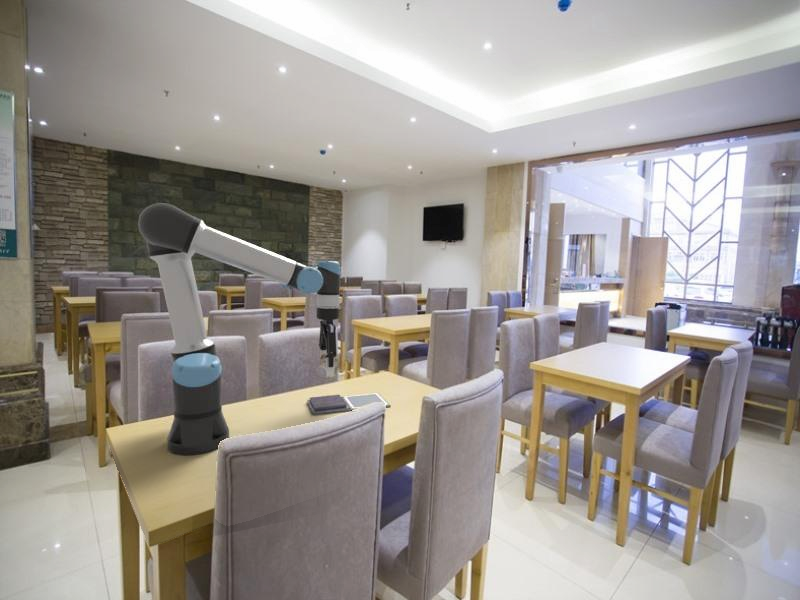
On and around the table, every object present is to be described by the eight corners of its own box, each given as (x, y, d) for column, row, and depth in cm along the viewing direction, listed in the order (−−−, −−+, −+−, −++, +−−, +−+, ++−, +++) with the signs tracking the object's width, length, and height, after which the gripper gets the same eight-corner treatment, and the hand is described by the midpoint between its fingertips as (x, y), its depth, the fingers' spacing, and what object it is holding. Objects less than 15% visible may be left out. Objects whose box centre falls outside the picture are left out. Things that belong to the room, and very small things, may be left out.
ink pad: (313, 414, 133) (313, 408, 133) (307, 402, 144) (307, 397, 144) (349, 410, 137) (349, 404, 137) (340, 399, 148) (340, 393, 148)
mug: (309, 378, 134) (311, 349, 138) (324, 384, 142) (325, 357, 146) (329, 376, 132) (330, 346, 136) (343, 382, 140) (344, 354, 144)
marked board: (351, 411, 137) (351, 409, 136) (341, 398, 150) (341, 396, 149) (390, 406, 142) (390, 404, 142) (377, 394, 155) (377, 392, 155)
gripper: (347, 311, 128) (345, 380, 130) (332, 303, 149) (330, 363, 151) (323, 311, 126) (322, 382, 128) (311, 303, 146) (310, 364, 148)
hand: (326, 372), depth 139 cm, fingers closed on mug, 10 cm apart
